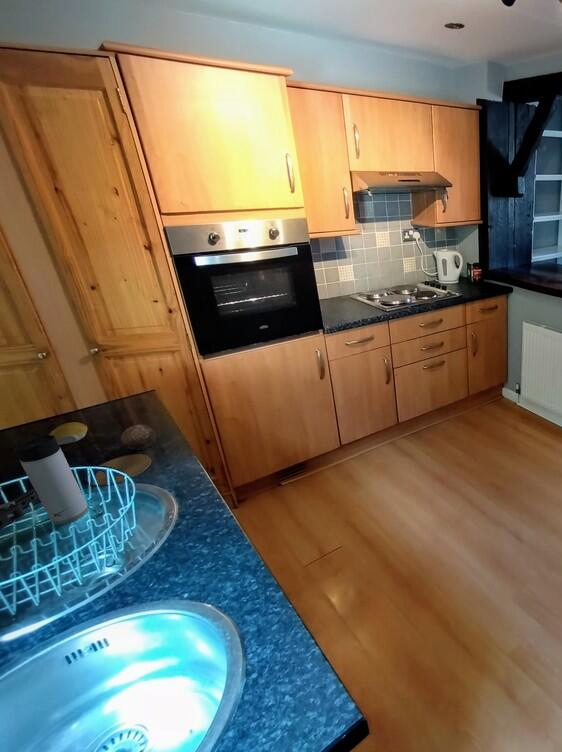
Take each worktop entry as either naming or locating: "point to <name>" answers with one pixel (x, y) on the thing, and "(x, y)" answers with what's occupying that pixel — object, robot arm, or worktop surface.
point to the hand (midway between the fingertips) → (16, 491)
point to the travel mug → (52, 479)
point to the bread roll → (69, 432)
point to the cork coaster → (124, 467)
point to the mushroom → (138, 437)
